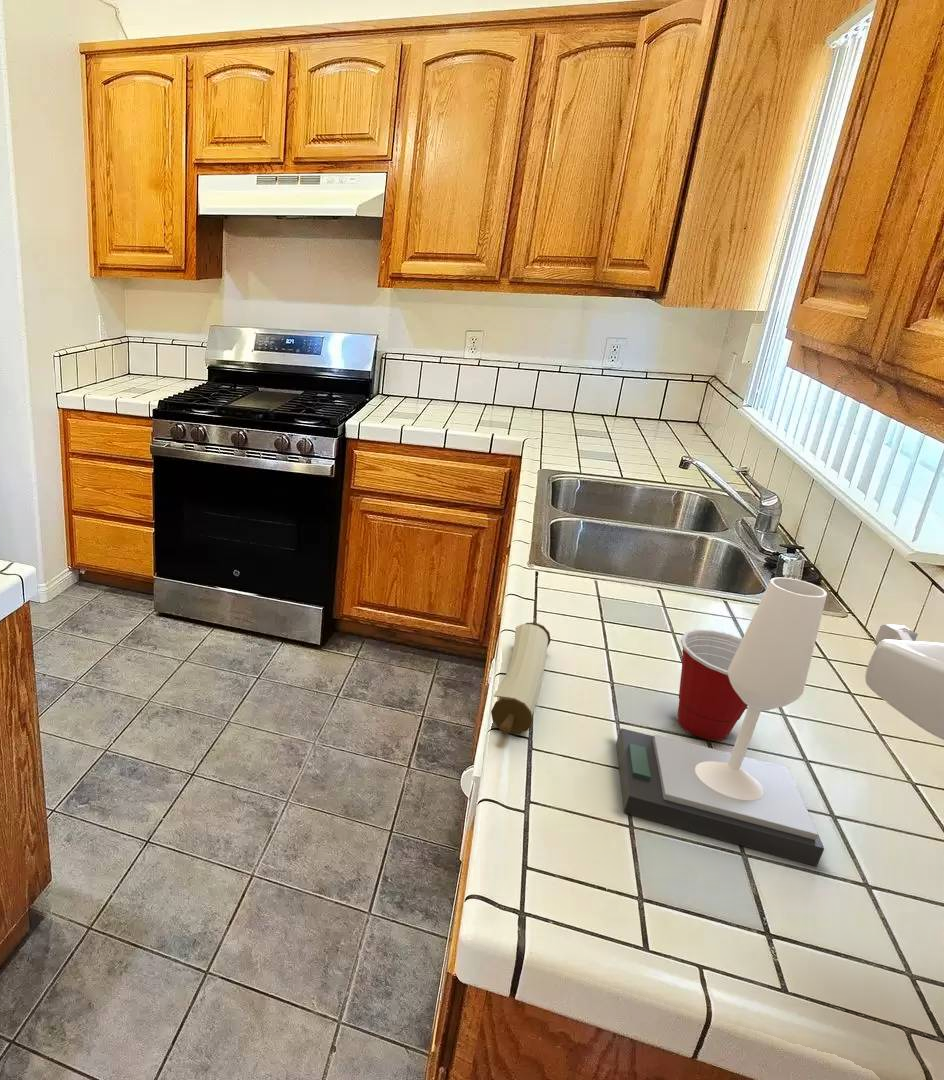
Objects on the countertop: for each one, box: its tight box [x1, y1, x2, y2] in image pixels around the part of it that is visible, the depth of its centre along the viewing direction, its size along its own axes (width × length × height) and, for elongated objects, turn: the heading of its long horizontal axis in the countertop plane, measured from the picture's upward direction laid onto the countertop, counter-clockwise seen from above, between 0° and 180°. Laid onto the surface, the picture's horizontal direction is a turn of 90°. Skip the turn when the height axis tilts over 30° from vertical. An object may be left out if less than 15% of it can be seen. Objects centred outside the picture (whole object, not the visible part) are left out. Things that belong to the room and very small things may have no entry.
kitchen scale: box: [616, 727, 825, 867], centre depth 86 cm, size 18×14×3 cm
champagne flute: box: [695, 576, 828, 801], centre depth 80 cm, size 7×7×24 cm
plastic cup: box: [677, 628, 748, 741], centre depth 97 cm, size 11×11×12 cm
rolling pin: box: [490, 621, 552, 735], centre depth 106 cm, size 32×6×5 cm, turn 152°
